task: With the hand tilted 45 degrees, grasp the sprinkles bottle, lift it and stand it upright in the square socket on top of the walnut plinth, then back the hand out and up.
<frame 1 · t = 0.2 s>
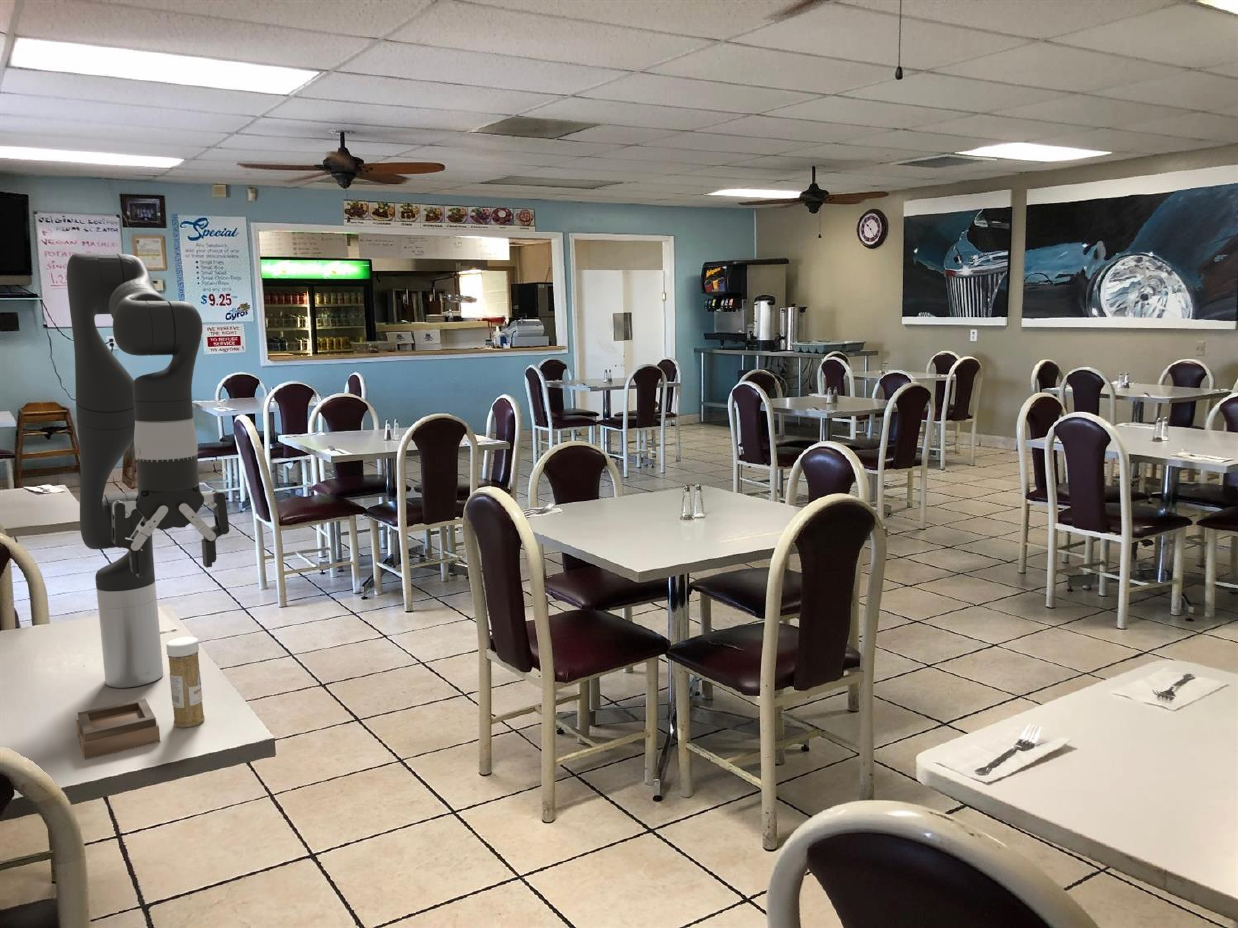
hand: (174, 571, 132), 29 cm above the table, tool pointing down, fingers open, 8 cm apart
walnut plinth: (118, 738, 148), on the table
sprinkles bottle: (189, 723, 154), on the table
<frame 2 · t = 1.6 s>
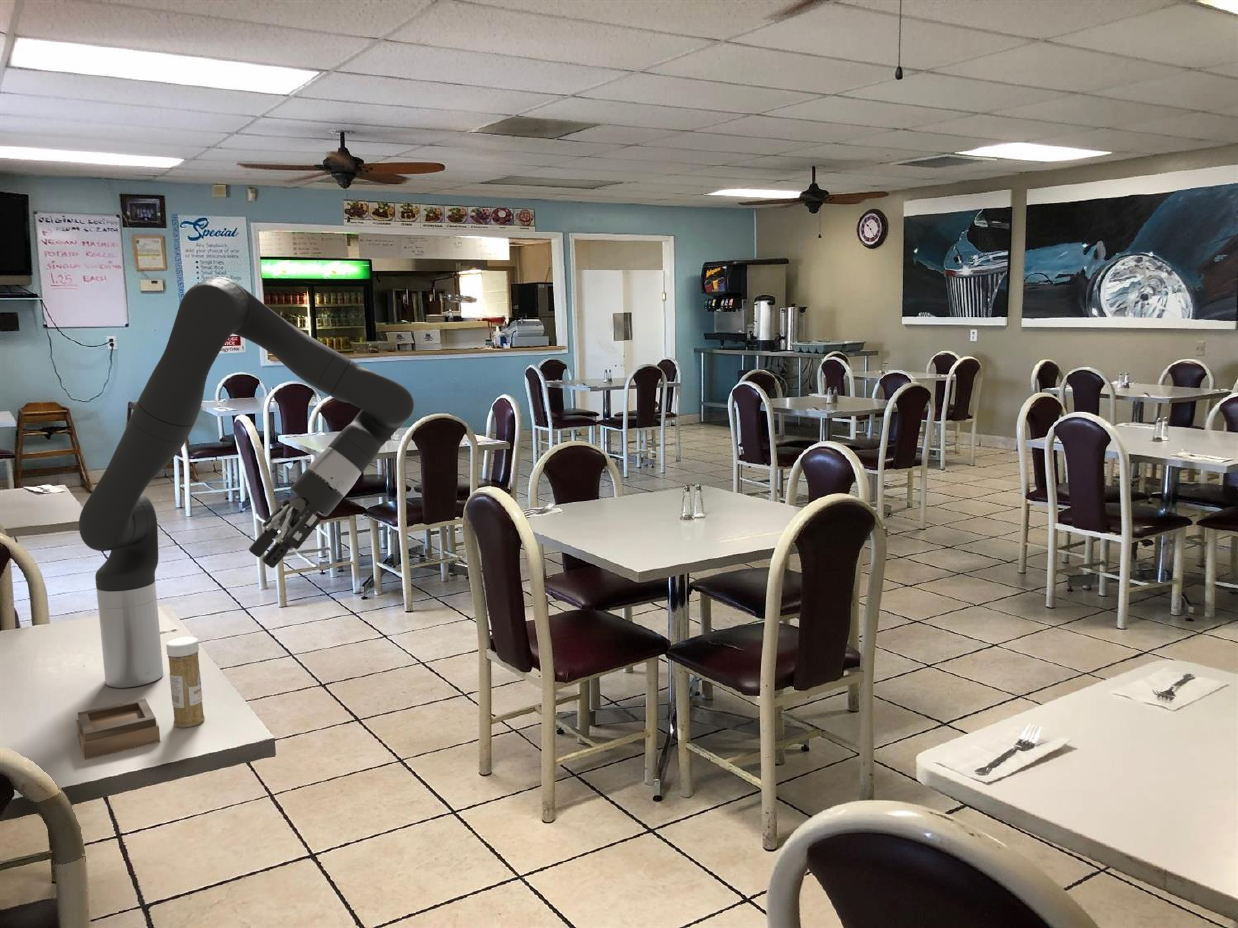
hand: (260, 559, 157), 24 cm above the table, tool tilted 45°, fingers open, 8 cm apart
nothing on the table moved.
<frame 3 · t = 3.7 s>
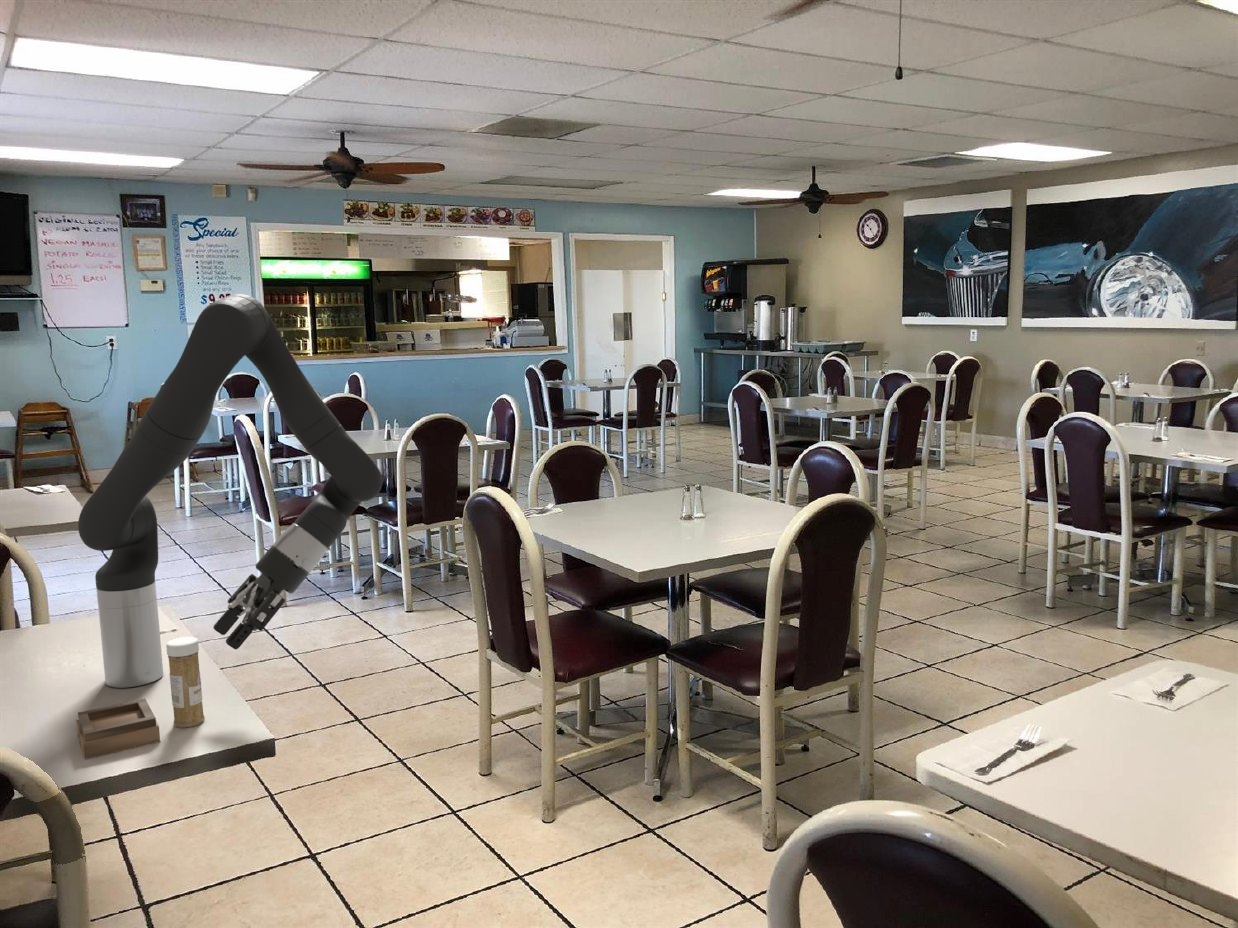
hand: (224, 639, 155), 12 cm above the table, tool tilted 45°, fingers open, 8 cm apart
nothing on the table moved.
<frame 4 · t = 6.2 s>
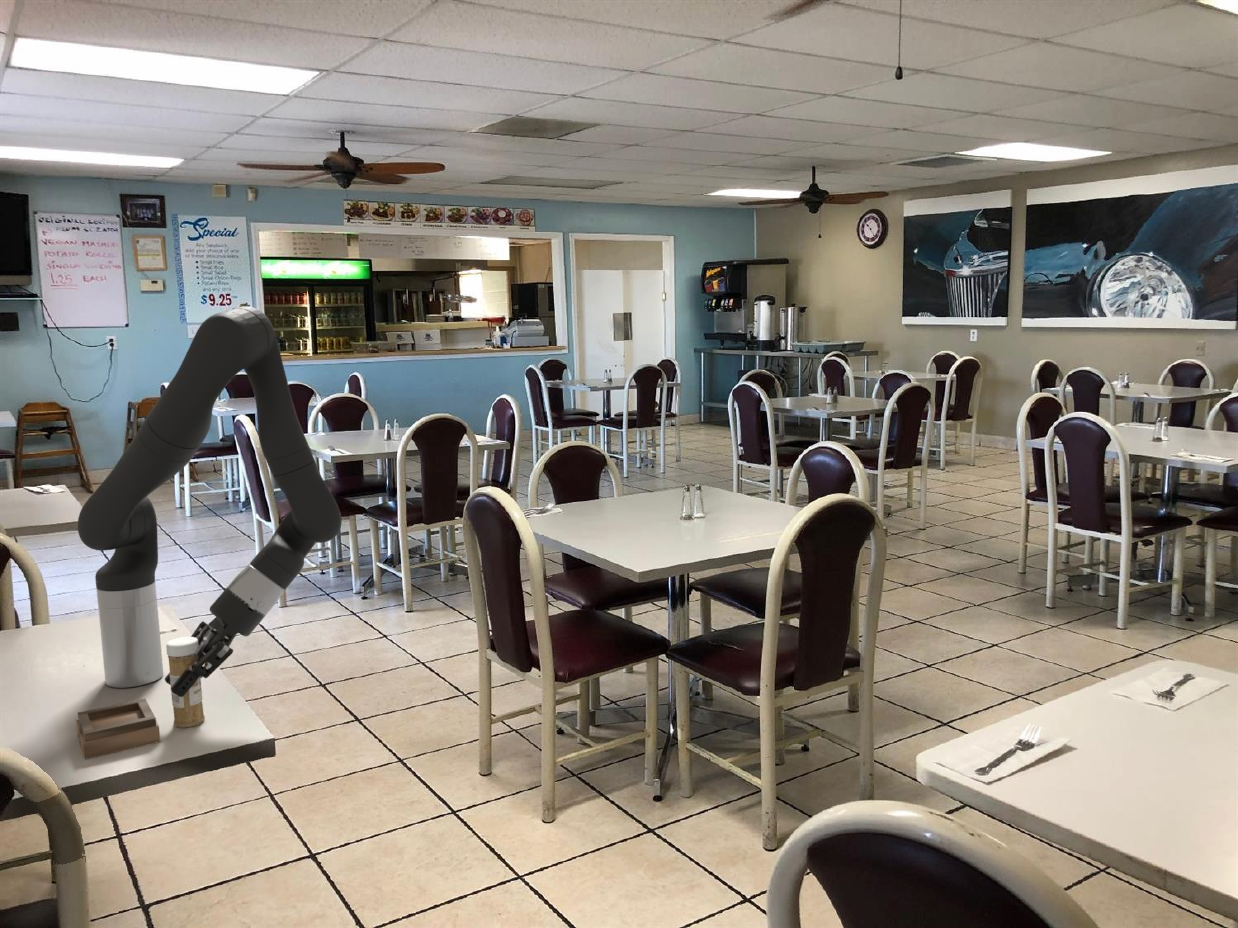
hand: (172, 688, 152), 6 cm above the table, tool tilted 45°, fingers closed on sprinkles bottle, 4 cm apart
sprinkles bottle: (189, 723, 154), on the table, touching gripper
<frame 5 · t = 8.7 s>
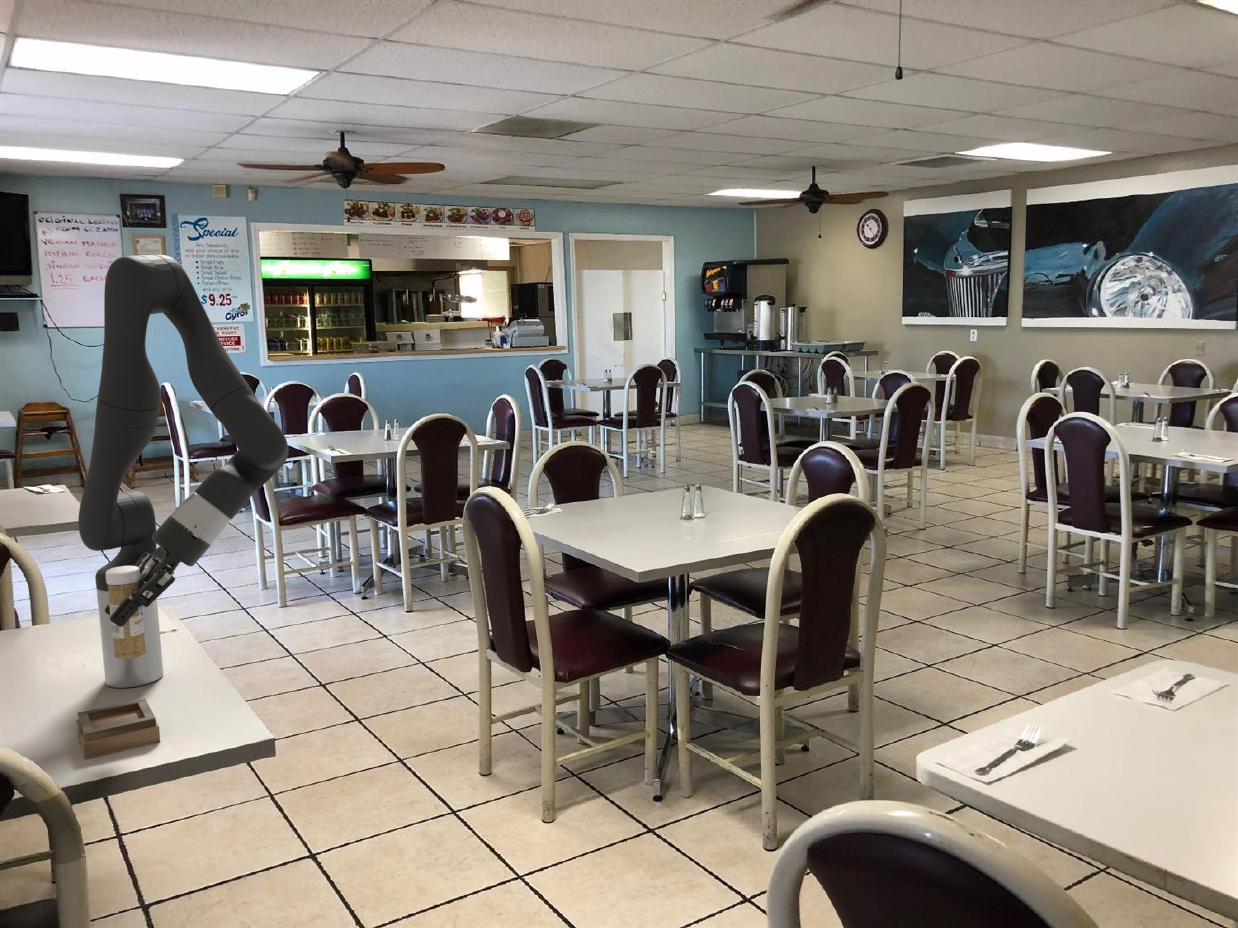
hand: (112, 618, 146), 19 cm above the table, tool tilted 45°, fingers closed on sprinkles bottle, 4 cm apart
sprinkles bottle: (130, 656, 148), point 12 cm above the table, touching gripper
when the fingers open (10 cm above the table, at t = 11.3 s): sprinkles bottle drops 2 cm, resting on walnut plinth.
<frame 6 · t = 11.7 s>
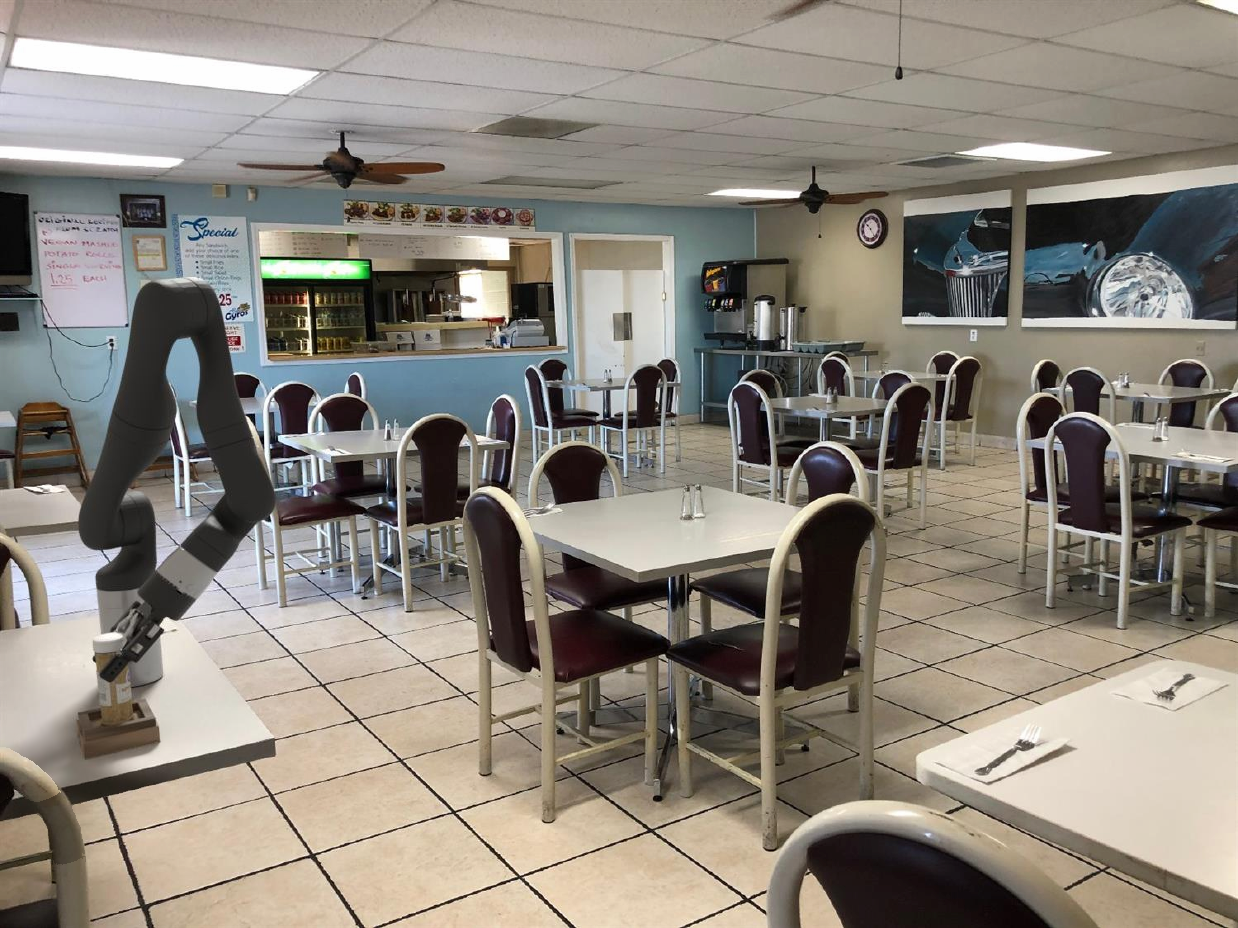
hand: (100, 671, 146), 11 cm above the table, tool tilted 45°, fingers open, 7 cm apart
sprinkles bottle: (117, 722, 148), point 2 cm above the table, touching walnut plinth
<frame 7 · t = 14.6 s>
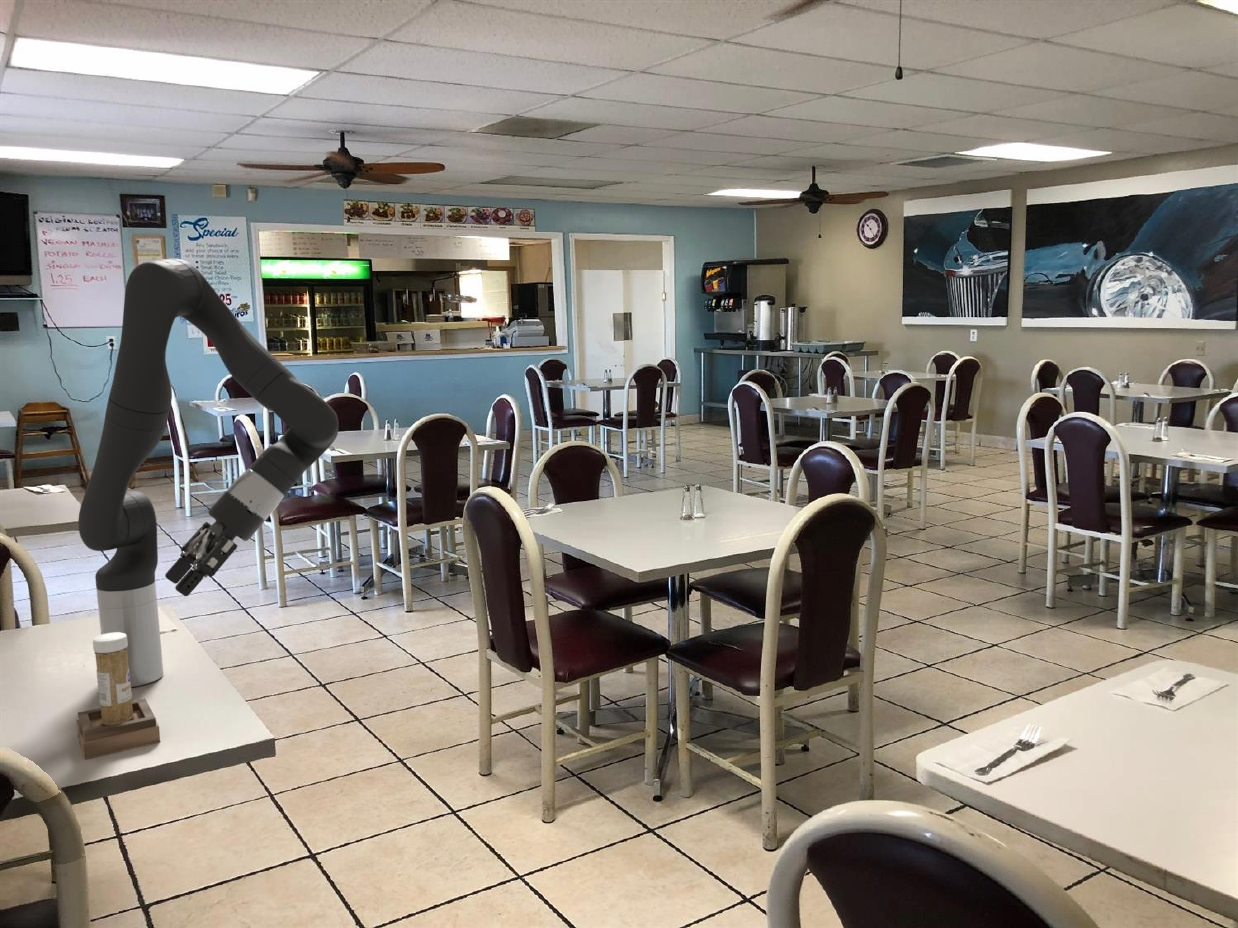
hand: (174, 586, 150), 22 cm above the table, tool tilted 45°, fingers open, 8 cm apart
nothing on the table moved.
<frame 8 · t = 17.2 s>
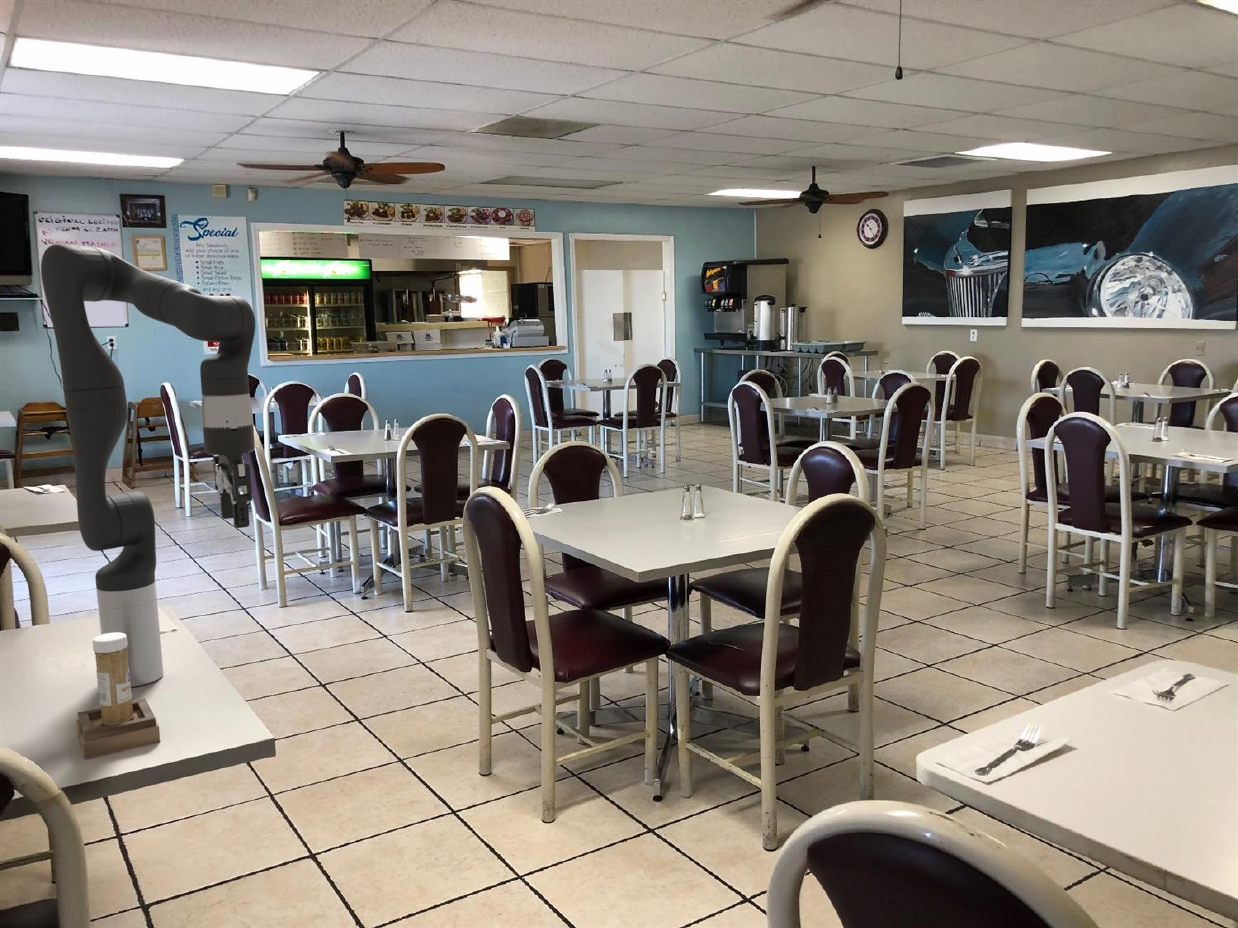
hand: (235, 522, 158), 30 cm above the table, tool pointing down, fingers open, 8 cm apart
nothing on the table moved.
at the end: sprinkles bottle 0.6 cm off-centre on the walnut plinth, point 2.3 cm above the walnut plinth's base; sprinkles bottle tilted 0°; the gripper is holding nothing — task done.
